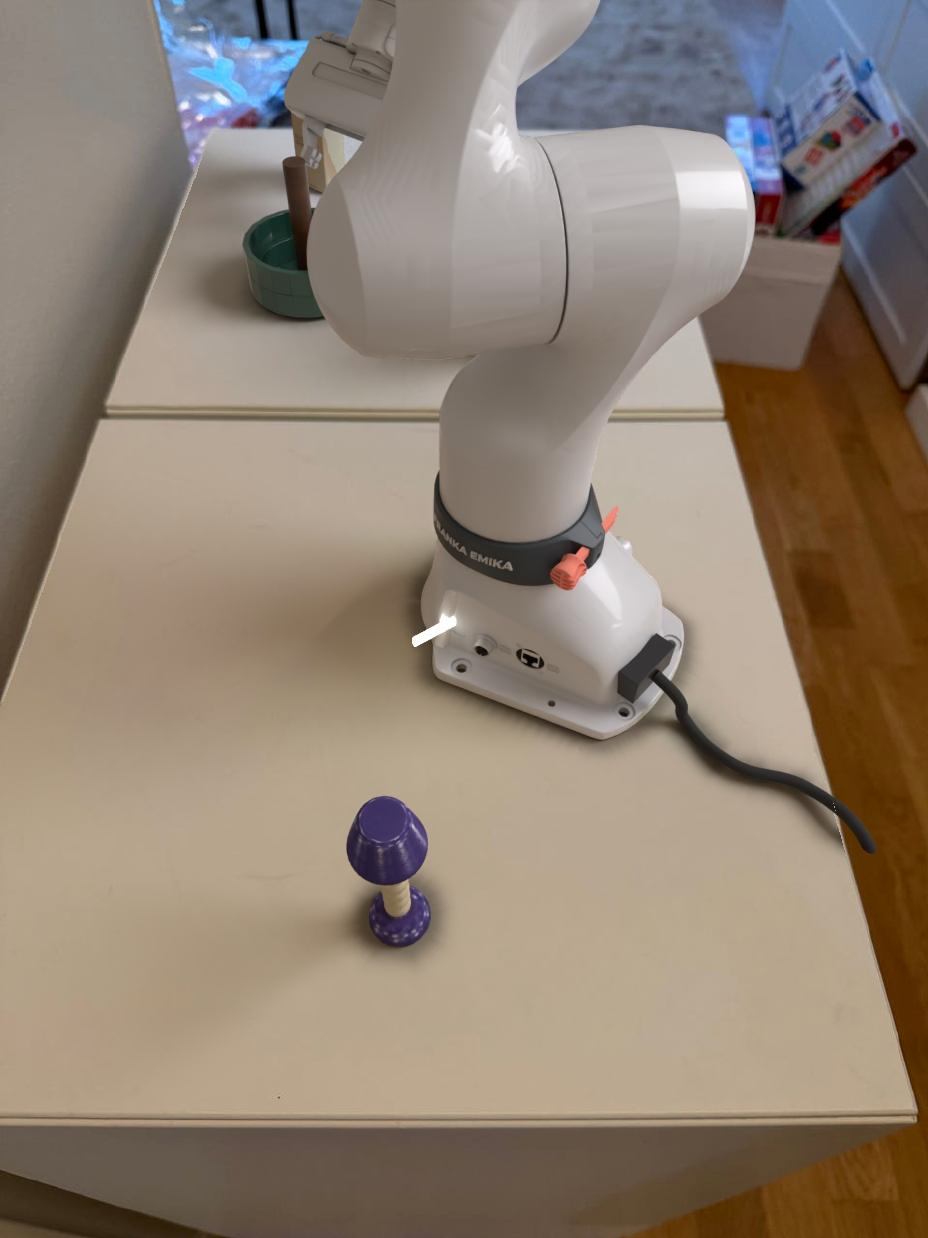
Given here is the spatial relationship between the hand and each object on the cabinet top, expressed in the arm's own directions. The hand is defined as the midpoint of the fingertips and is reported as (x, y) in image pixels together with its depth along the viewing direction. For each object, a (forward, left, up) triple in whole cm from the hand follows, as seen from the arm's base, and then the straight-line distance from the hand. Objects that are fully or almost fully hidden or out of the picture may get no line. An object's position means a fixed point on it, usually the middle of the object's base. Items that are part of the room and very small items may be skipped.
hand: (339, 177), depth 103 cm
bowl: (0, +7, -10) cm, 12 cm away
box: (+14, -12, -10) cm, 21 cm away
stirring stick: (0, +7, -9) cm, 12 cm away
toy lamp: (-53, +60, -10) cm, 81 cm away
